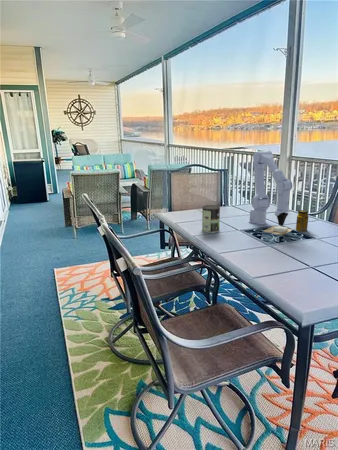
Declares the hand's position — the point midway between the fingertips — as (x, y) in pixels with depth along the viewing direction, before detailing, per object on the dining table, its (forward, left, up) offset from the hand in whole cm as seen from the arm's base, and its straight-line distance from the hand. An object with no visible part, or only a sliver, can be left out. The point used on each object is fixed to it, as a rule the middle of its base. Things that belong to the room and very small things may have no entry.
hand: (280, 225), depth 183 cm
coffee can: (-33, -23, -4) cm, 40 cm away
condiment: (+9, +9, -4) cm, 14 cm away
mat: (-2, 0, -4) cm, 4 cm away
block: (0, +3, -2) cm, 4 cm away
